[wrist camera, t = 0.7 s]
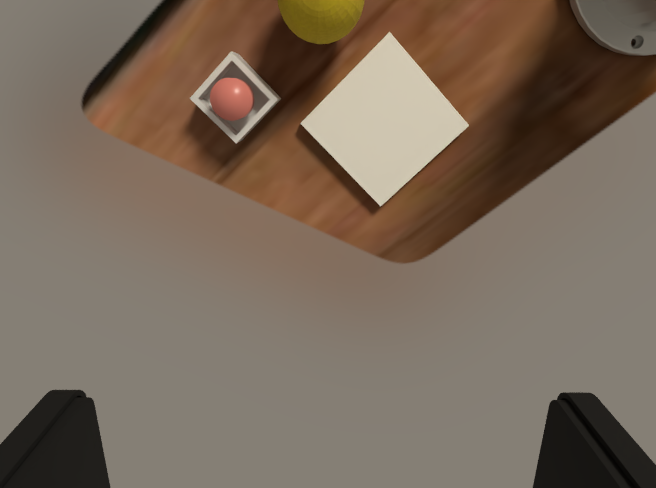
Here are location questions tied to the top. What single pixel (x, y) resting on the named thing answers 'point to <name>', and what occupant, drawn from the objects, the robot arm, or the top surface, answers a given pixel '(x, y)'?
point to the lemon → (321, 18)
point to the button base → (262, 91)
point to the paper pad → (384, 120)
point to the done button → (232, 98)
